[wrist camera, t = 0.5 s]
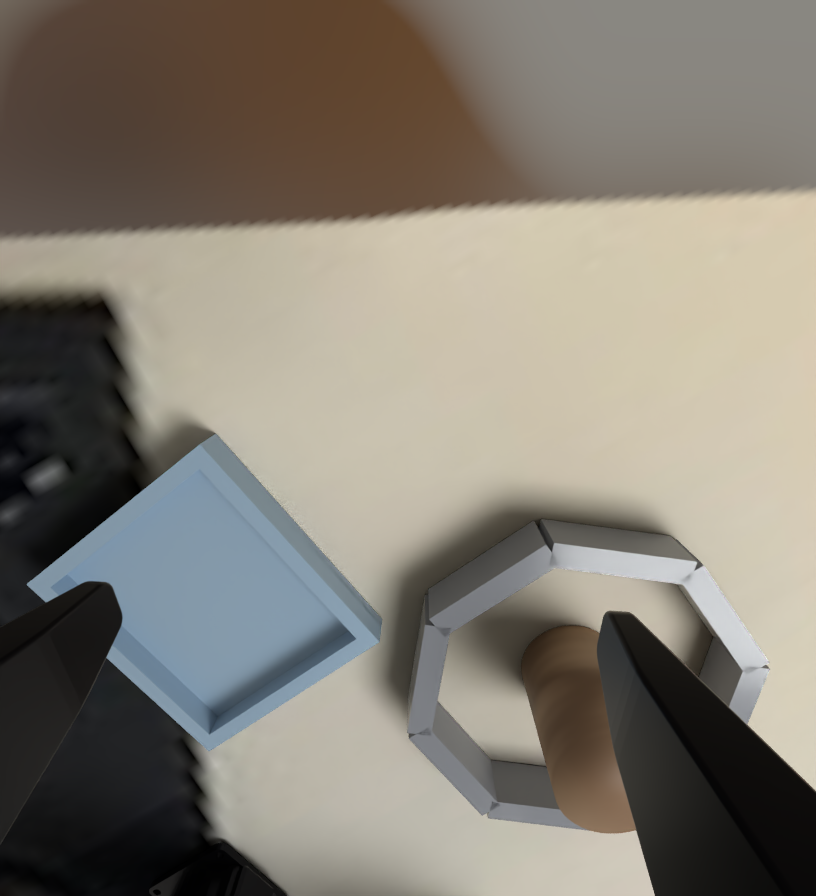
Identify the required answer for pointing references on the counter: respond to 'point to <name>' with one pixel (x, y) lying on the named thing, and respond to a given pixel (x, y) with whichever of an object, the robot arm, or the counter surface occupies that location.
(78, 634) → the robot arm
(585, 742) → the walnut cylinder
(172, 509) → the tray
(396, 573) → the counter surface
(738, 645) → the holder ring
